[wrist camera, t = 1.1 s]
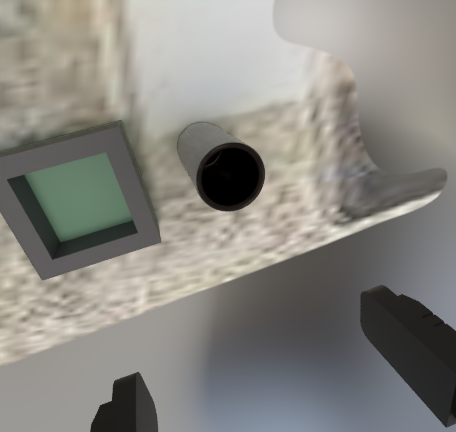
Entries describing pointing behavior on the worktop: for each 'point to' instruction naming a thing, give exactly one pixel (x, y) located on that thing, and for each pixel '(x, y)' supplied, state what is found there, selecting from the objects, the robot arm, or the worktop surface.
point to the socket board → (76, 199)
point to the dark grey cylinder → (221, 166)
